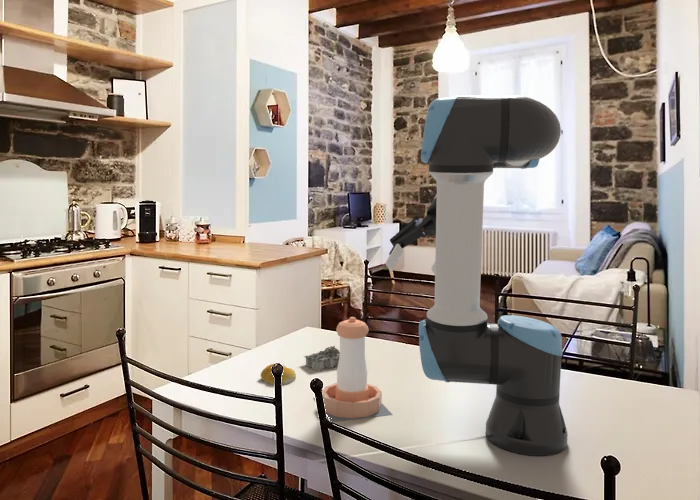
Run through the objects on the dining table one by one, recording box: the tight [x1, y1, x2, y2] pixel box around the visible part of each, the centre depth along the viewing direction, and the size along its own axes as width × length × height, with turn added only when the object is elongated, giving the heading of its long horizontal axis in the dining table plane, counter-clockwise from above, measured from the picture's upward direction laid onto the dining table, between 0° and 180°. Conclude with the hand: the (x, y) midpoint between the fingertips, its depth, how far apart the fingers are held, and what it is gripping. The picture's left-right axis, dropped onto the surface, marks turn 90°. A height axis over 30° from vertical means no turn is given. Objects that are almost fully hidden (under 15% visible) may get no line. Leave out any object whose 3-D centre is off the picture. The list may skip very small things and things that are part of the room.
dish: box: [321, 382, 383, 418], centre depth 122 cm, size 13×13×3 cm
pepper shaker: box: [335, 316, 370, 402], centre depth 121 cm, size 7×7×19 cm
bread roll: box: [260, 363, 297, 385], centre depth 139 cm, size 8×9×4 cm
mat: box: [313, 397, 393, 423], centre depth 122 cm, size 14×14×1 cm
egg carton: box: [304, 345, 340, 371], centre depth 152 cm, size 11×8×4 cm
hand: (410, 269), depth 132 cm, fingers open, 13 cm apart
